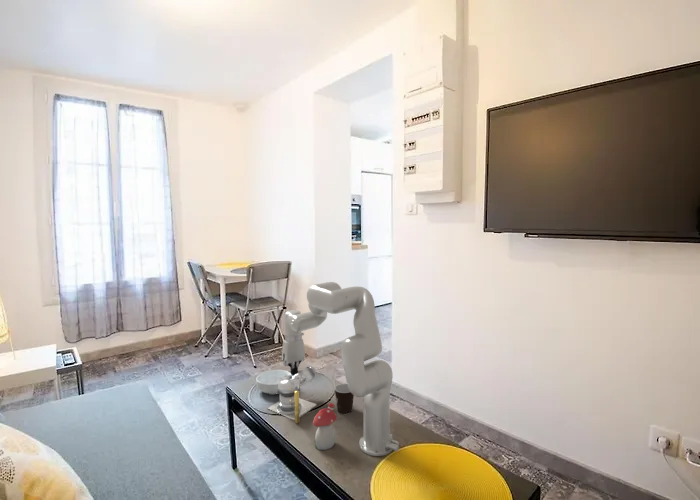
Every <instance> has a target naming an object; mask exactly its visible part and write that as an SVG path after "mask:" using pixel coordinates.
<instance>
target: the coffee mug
mask: <svg viewBox="0 0 700 500" xmlns="http://www.w3.org/2000/svg"><path fill="white" fill-rule="evenodd" d="M334 395H335V401H336V402H335V403H336V409H337V412H338V414H340V415H349V414H351V413H352V412H353V407H354V406H353V405H354V399H355V396H354V395H353V394H352V393H351V392H350V390H349V388H348V385H347V382H346V383H339V384H337V385H335V386H334Z"/></svg>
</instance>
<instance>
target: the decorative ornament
mask: <svg viewBox="0 0 700 500" xmlns="http://www.w3.org/2000/svg"><path fill="white" fill-rule="evenodd" d="M334 408H335V404H334V403H333V402H331V403H329V404H328V407H324V408H321V409H320V410H318V412H317V413H316V415H315V416H314V417H313V421H312V425H313V426H314V427H315V428H317V430H316V431H315V437H314V447H315V449H317V450H319V451H320V450H322V451H326V450H329V449H332V448H333V447H334V445H335V442H336V436H337V434H336V429H335V428H334V426H333V424H334V423H335V422H336V421H337V420H338V417H337V414H336V413H335V411H334Z"/></svg>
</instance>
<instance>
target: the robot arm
mask: <svg viewBox="0 0 700 500" xmlns="http://www.w3.org/2000/svg"><path fill="white" fill-rule="evenodd" d="M306 300H307V302H308V308H309V311H307V312H302V313H301V311H300V310H297V309H291V310H287V311H285V313H284V340H283V342H282V349H281V360H282V363H283V364H282V365H283V367H284V366H285V367H289V368H290V373H291V375H292V376H293V375H295V374H297V373H299V367H300V364H301V363H302V362H304V361H305V358H306V351H305V350H306V349H305V344H304V339H303V336H304V335H305V333H304V331H308V330H311V329H315V328H317V327H319V326H321V325H322V323H324V322H325V321H326V319H327V318H328V314H334V315H336V314H340V313H341V314H342V313H345V312H349V311H352V310H355V313H354V315H353V322H352V323H353V327H354V332H355V333H354V335H352V336H348V337H347V338H345V339H344V340H343V342H342V343H341V346H340V347H341V348H340V356H341V361H342V366H343V370H344V375H345V380H346V384H347V385H348V388H349V390H350V392H351V393H352V394H353V395H354V397H356V398H363V409H362V411H363V412H362V413H363V418H362V419H363V435H362V436H361V437H360V439H359V441H358V442H359V443H358V444H359V445H358V446H359V449H360V450H361V451H362V452H363V453H365V454H367V455H369V456H374V457H382V456H386V455H388V454H390V453H391V452H392V451H396V452H399V448H400V446H399V440H398V441H397V440H396V439H395V440H394V438H393V434H392V433H391V431H390V428H391V427H390V424H391V423H390V419H391V416H390V414H391V413H390V411H391V410H390V405H391V401H390V400H391V389H392V388H391V387H392V383H393V370H392V367H391V365H390V364H389V363H388V362H387V361H385V360H382V359H376V360H373V361H370V360H371V359H373V358H376V357H378V356H379V355H380V354H382V352H383V343H382V339H381V334H380V330H379V326H378V322H377V317H376V306H375V305H376V304H375V301H374V298H373V295H372V293H371V292H370V291H369V290H368V289H367V288H366V287H364V286H363V287H362V286H349V287H345V288H342V287H341V285H340V284H338V283H337V282H334V281H329V282H328V281H327V282H322V283H316V284H312V285H311V286H310V287H309V288H308V289H307V291H306ZM367 361H369V362H367ZM365 362H367V363H365Z"/></svg>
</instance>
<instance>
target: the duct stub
mask: <svg viewBox="0 0 700 500" xmlns="http://www.w3.org/2000/svg"><path fill="white" fill-rule="evenodd" d="M315 407H318V406H317V403H314V402H311V401H308V400H305V399H303V398H300V392H299V391H298V390H295V391H294V396H281V395H279V401H277V402H276V403H274V404H272V405H270V406H269V407H267V410H268V409H270V410H269V411H271V410H272V411H271V412H273V411H275V412H277V413H276V414H278V413H279V414H278V415H280V414H281V415H280V416H283V417H286V418H287V419H290V420H293V421H294V422H295V424H298V423H300V421H301V420H300V418H301V417H303V416H304V415H305V414H307V413H309V412H310V411H311V410H313V409H314V408H315ZM275 412H274V413H275Z"/></svg>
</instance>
